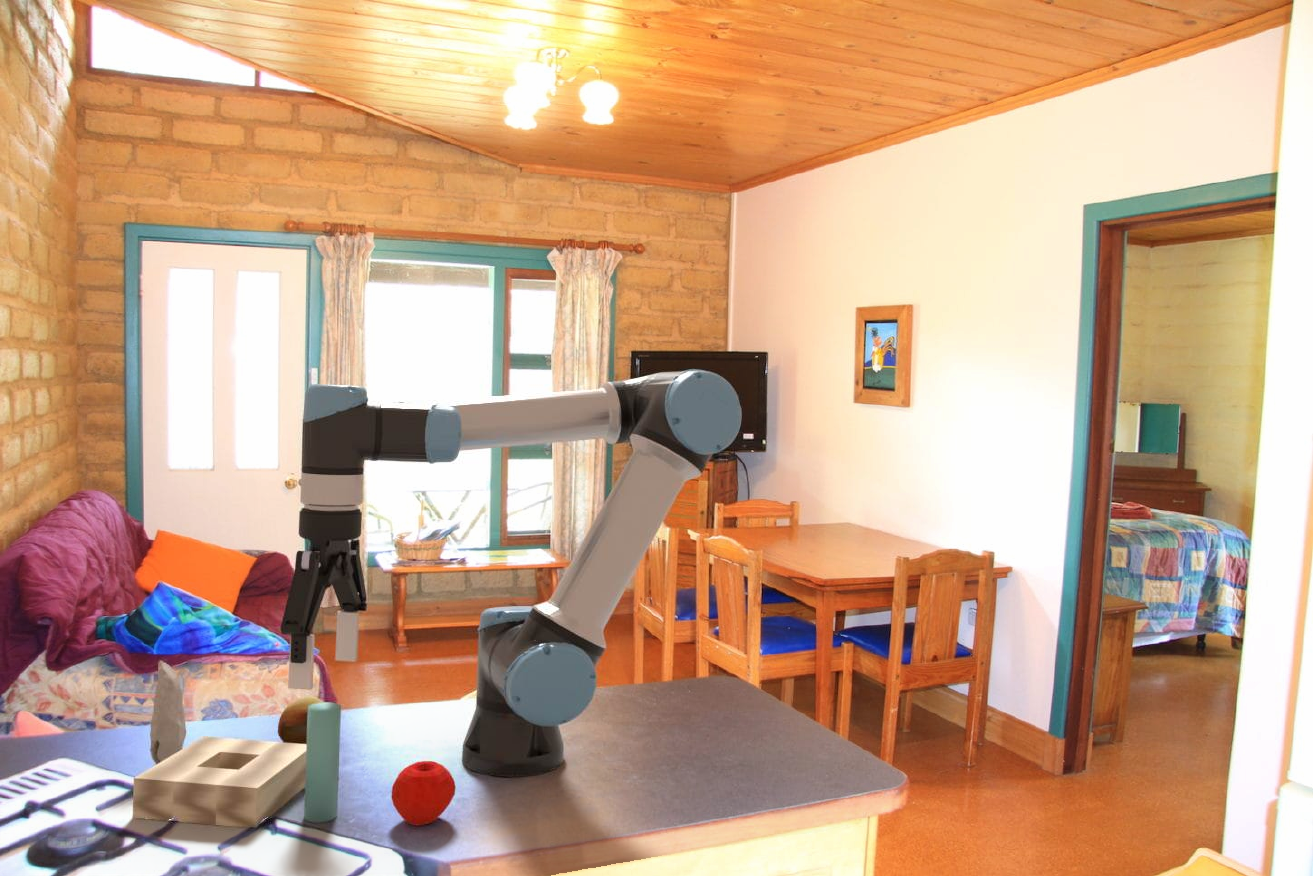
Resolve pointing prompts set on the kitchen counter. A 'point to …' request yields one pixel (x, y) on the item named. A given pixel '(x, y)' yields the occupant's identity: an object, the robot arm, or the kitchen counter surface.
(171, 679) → the stone tool
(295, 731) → the fruit
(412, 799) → the apple
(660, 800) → the kitchen counter surface
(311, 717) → the peg
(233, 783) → the socket block
